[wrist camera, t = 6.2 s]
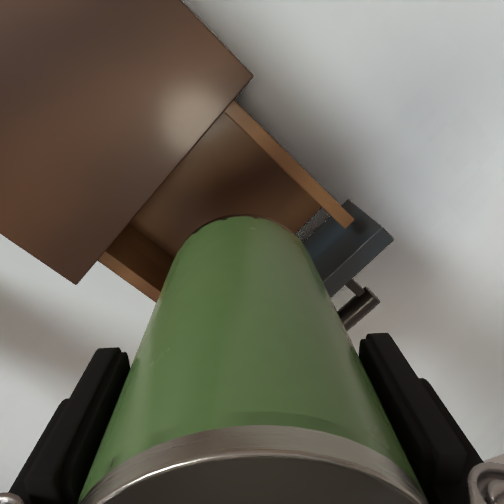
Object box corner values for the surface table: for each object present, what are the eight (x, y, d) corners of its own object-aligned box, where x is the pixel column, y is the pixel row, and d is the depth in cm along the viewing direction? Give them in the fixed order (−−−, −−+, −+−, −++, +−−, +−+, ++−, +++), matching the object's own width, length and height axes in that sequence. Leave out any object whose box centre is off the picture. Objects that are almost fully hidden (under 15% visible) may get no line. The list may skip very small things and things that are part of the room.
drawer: (393, 244, 30) (437, 282, 24) (275, 351, 33) (286, 411, 27) (225, 74, 25) (223, 65, 18) (103, 221, 28) (66, 256, 22)
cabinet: (246, 83, 26) (254, 75, 18) (118, 234, 29) (75, 285, 21) (57, -109, 22) (-47, -236, 13) (-67, 94, 25) (-209, 91, 17)
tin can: (276, 186, 15) (368, 384, 5) (335, 307, 17) (491, 629, 7) (142, 254, 16) (-42, 554, 5) (215, 361, 18) (186, 722, 8)
